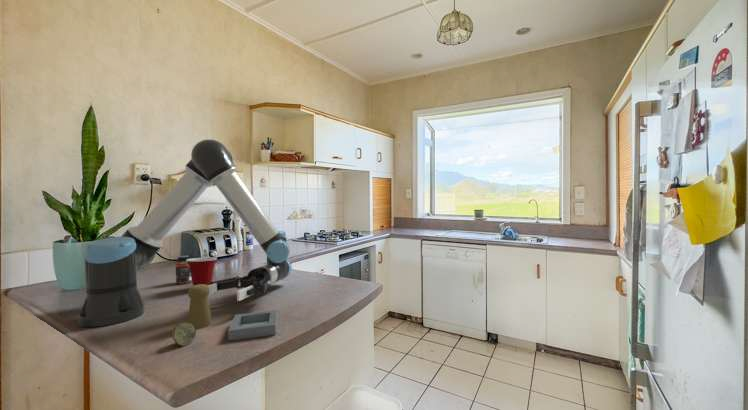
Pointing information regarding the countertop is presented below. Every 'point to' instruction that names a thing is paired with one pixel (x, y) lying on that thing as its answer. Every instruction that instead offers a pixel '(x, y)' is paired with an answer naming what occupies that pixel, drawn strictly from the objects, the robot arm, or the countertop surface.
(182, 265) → the supplement bottle
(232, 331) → the block
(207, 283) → the plastic cup
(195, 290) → the cork
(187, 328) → the grey-green short cylinder
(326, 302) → the countertop surface
